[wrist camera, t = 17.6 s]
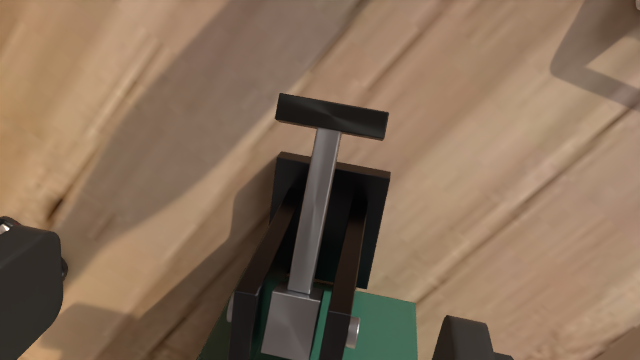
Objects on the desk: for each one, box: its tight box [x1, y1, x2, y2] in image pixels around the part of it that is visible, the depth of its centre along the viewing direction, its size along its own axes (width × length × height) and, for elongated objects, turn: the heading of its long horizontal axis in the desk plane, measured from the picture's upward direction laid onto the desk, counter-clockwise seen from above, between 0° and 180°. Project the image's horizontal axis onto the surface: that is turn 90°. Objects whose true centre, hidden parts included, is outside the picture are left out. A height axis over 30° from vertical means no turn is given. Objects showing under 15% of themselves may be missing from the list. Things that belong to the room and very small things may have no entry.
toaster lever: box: [261, 93, 389, 360], centre depth 24 cm, size 12×5×2 cm, turn 172°
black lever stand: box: [227, 152, 390, 360], centre depth 28 cm, size 8×7×13 cm
